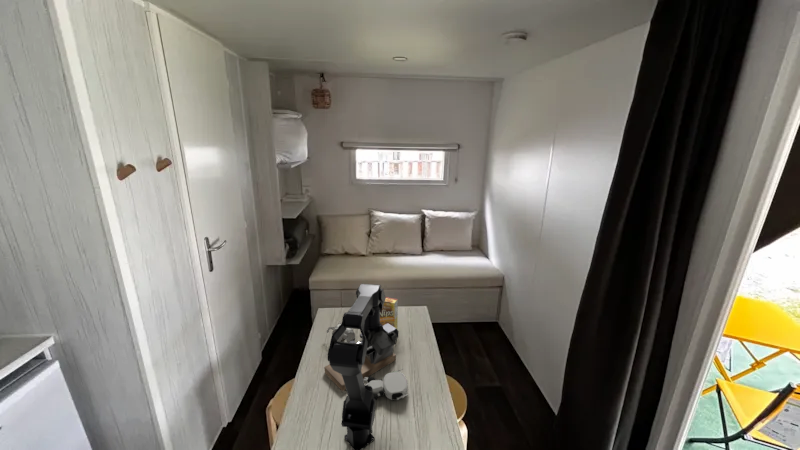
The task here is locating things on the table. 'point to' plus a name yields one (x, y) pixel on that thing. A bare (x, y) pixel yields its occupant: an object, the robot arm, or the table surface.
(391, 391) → the robot toy
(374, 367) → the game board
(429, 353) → the table surface
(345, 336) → the elephant statuette
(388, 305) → the candy box
